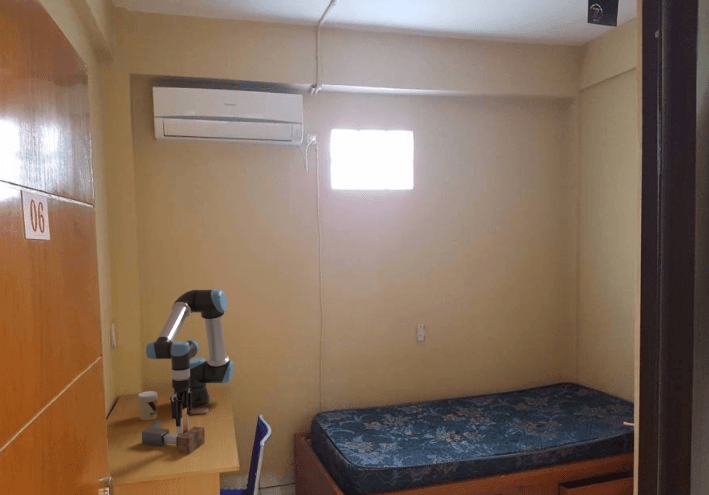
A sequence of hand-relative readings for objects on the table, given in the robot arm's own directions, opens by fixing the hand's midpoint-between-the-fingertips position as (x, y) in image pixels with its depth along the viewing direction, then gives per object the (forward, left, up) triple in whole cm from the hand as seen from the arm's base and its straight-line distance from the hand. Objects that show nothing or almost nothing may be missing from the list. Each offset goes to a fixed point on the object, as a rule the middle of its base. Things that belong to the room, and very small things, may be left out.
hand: (182, 430), depth 233 cm
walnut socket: (0, +4, -7) cm, 8 cm away
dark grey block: (0, -14, -7) cm, 16 cm away
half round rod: (-12, -25, -8) cm, 29 cm away
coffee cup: (-26, -38, -7) cm, 47 cm away
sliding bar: (0, -5, -6) cm, 8 cm away
